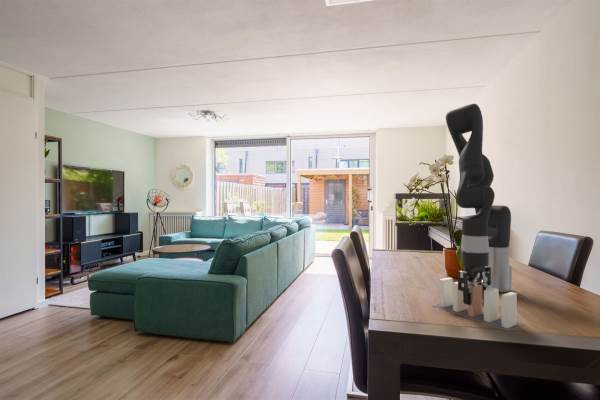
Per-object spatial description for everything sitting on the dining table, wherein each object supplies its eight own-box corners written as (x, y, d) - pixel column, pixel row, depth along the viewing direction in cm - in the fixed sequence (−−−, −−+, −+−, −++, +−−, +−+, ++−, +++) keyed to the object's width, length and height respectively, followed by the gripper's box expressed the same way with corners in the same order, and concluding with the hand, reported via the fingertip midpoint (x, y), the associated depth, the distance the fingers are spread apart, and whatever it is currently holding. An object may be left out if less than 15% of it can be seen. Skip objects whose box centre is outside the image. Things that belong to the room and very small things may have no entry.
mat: (432, 307, 109) (432, 306, 109) (448, 302, 113) (448, 301, 113) (508, 333, 88) (508, 331, 88) (524, 325, 93) (524, 324, 93)
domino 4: (483, 320, 96) (483, 290, 96) (493, 317, 98) (493, 287, 98) (489, 322, 94) (489, 291, 94) (498, 318, 97) (498, 289, 97)
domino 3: (468, 315, 100) (467, 286, 100) (477, 312, 103) (477, 283, 103) (473, 316, 99) (473, 287, 99) (482, 313, 101) (482, 285, 101)
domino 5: (501, 326, 92) (501, 294, 91) (510, 322, 94) (510, 291, 94) (507, 328, 90) (507, 296, 90) (516, 324, 93) (516, 293, 93)
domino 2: (452, 310, 104) (452, 282, 104) (462, 307, 107) (462, 280, 107) (457, 311, 103) (457, 283, 103) (466, 308, 106) (466, 281, 105)
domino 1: (439, 305, 109) (439, 279, 109) (448, 303, 111) (448, 277, 111) (443, 307, 107) (443, 280, 107) (452, 304, 110) (452, 278, 110)
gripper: (476, 246, 107) (476, 294, 108) (449, 250, 100) (449, 302, 100) (499, 249, 101) (499, 301, 101) (473, 253, 93) (473, 310, 94)
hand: (474, 301), depth 101 cm, fingers open, 7 cm apart
